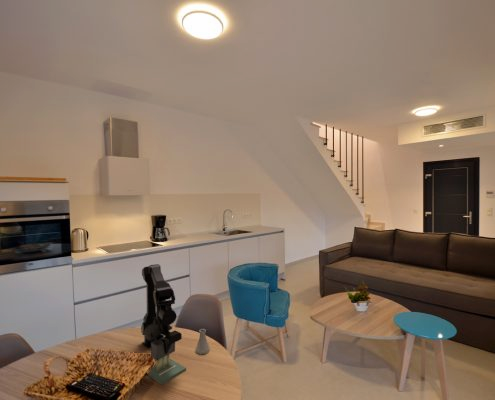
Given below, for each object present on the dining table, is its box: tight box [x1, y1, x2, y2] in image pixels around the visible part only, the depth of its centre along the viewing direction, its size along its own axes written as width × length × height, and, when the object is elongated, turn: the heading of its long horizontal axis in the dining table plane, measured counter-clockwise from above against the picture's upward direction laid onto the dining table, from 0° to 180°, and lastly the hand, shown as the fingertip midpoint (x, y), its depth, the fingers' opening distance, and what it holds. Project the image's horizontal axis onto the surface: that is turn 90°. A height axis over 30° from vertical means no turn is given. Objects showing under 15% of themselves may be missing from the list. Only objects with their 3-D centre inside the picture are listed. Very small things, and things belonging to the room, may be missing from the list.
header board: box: [147, 354, 187, 385], centre depth 118 cm, size 16×12×6 cm
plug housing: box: [150, 336, 176, 360], centre depth 119 cm, size 4×9×6 cm, turn 142°
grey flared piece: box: [194, 328, 211, 355], centre depth 134 cm, size 7×7×10 cm
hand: (163, 351), depth 119 cm, fingers closed on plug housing, 4 cm apart
